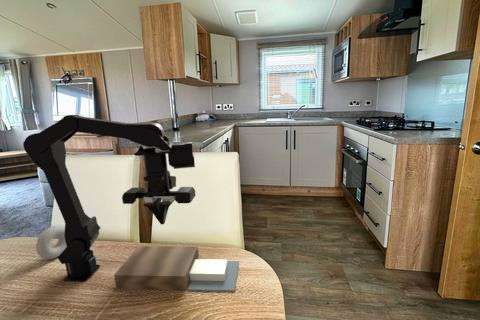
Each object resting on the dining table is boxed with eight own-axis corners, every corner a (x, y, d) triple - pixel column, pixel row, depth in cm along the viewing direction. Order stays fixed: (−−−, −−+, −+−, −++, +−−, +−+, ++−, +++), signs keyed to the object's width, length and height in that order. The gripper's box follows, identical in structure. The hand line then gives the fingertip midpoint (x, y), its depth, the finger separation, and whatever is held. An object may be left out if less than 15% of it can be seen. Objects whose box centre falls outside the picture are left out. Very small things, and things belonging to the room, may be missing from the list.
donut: (45, 266, 75) (37, 235, 73) (37, 265, 76) (29, 234, 74) (76, 248, 84) (70, 220, 82) (68, 246, 85) (62, 219, 83)
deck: (116, 288, 65) (113, 275, 64) (140, 258, 77) (138, 246, 76) (186, 290, 63) (184, 276, 62) (198, 258, 76) (197, 246, 75)
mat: (188, 290, 63) (188, 289, 63) (199, 261, 74) (199, 260, 74) (234, 291, 62) (234, 290, 62) (238, 262, 73) (238, 261, 73)
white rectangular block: (190, 280, 66) (189, 273, 66) (195, 265, 72) (195, 259, 71) (224, 280, 65) (224, 274, 65) (227, 266, 71) (227, 259, 71)
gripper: (197, 162, 76) (201, 211, 79) (137, 163, 78) (143, 211, 81) (187, 172, 65) (192, 229, 69) (117, 174, 67) (125, 229, 70)
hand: (162, 223), depth 72 cm, fingers closed
